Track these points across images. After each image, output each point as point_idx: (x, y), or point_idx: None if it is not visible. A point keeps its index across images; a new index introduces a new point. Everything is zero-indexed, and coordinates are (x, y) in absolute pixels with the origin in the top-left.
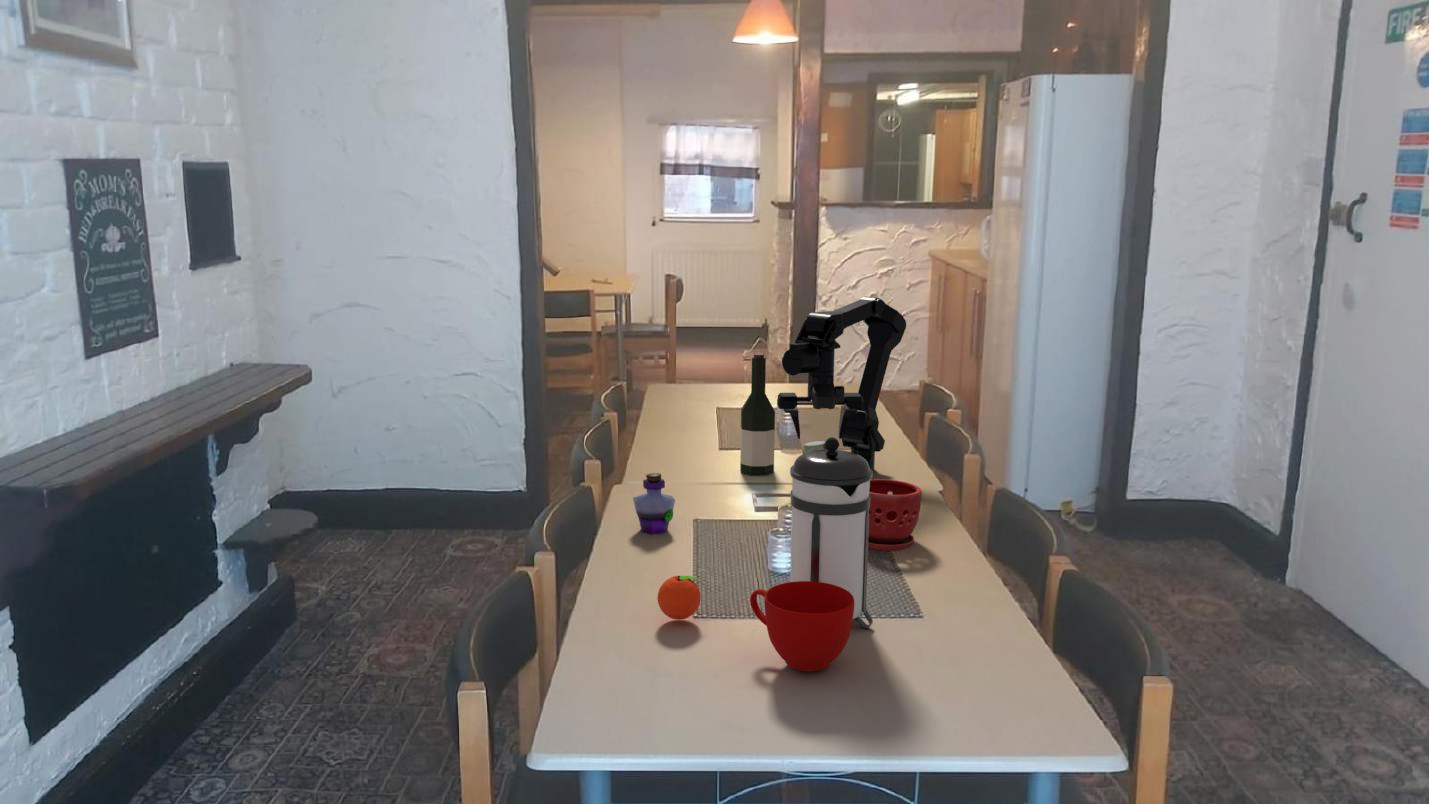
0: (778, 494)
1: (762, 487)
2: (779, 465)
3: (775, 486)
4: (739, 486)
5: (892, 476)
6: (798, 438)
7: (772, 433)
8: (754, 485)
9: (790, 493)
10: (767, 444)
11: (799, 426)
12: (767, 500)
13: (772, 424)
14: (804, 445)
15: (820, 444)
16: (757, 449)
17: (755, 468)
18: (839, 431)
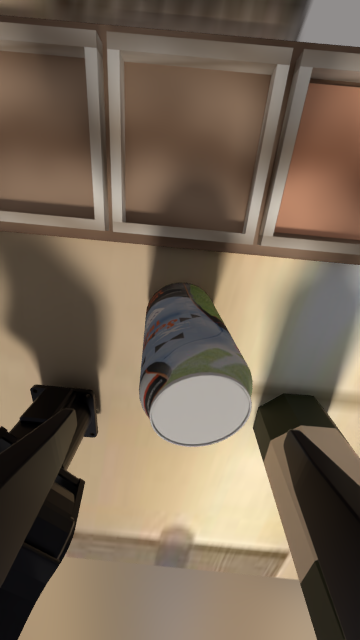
0: (326, 241)
1: (299, 369)
2: (216, 484)
3: (267, 373)
4: (347, 381)
5: (12, 410)
6: (298, 430)
7: None
8: (311, 384)
9: (288, 244)
10: None
11: (347, 504)
12: (332, 266)
13: None
14: (251, 402)
15: (182, 378)
16: (350, 472)
17: (323, 422)
18: (50, 446)
